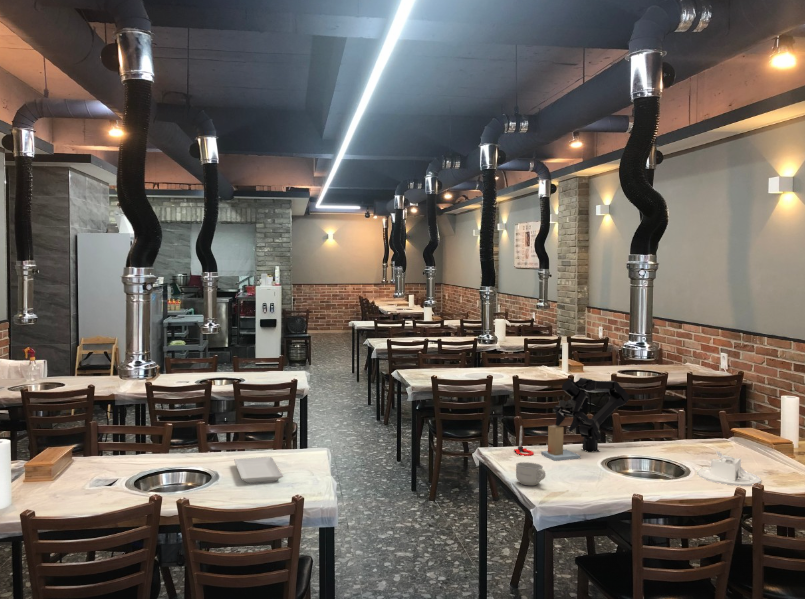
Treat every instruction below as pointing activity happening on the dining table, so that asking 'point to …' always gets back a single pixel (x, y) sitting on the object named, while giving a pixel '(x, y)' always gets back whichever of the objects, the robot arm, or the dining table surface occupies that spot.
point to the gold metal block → (555, 440)
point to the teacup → (529, 473)
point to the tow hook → (522, 447)
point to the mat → (564, 456)
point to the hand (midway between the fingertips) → (562, 429)
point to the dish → (728, 472)
